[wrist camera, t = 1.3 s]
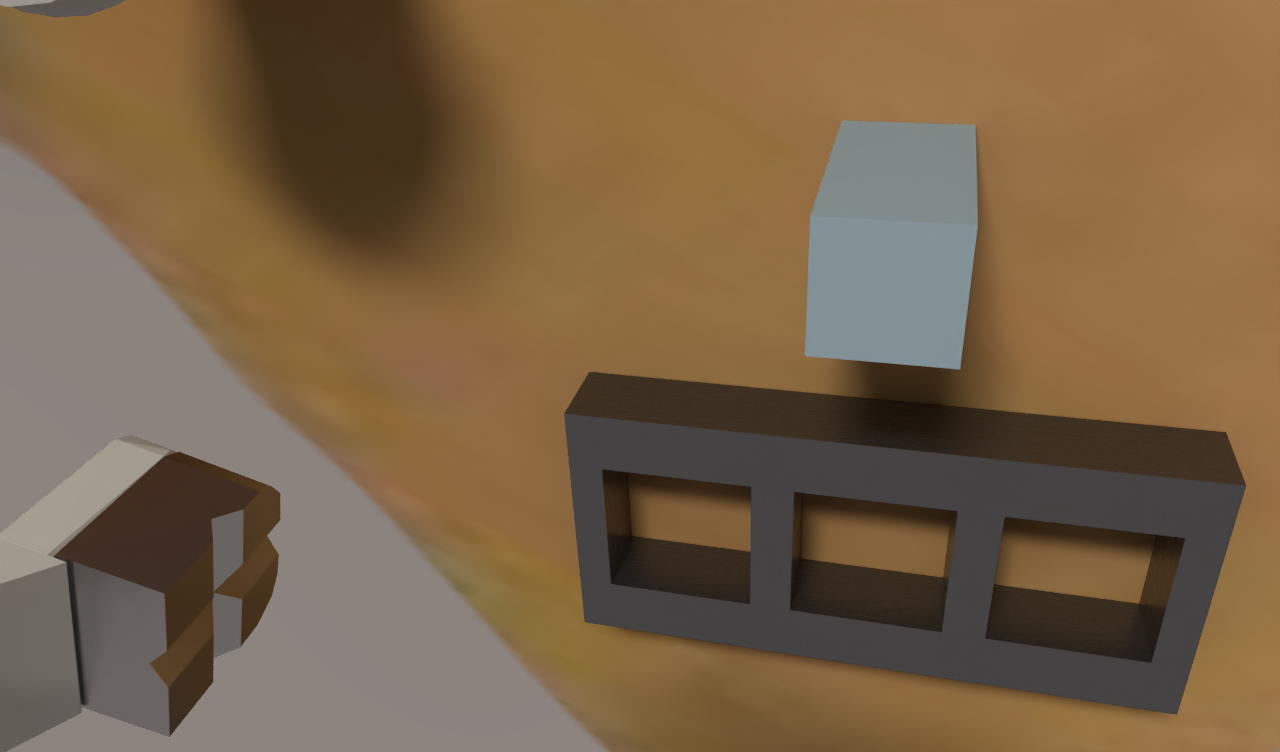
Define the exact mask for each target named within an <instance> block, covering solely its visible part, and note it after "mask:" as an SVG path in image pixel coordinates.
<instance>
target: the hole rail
mask: <svg viewBox="0 0 1280 752" xmlns="http://www.w3.org/2000/svg"><path fill="white" fill-rule="evenodd" d="M564 415H565V426H566V436H567V446H568V456H569V466H570V477H571V487H572V497H573V507H574V517H575V528H576V538H577V548H578V558H579V568H580V579H581V589H582V599H583V609H584V619H585V622H587V623H594V624H600V625H606V626H613V627H619V628H626V629H632V630H638V631H645V632H651V633H658V634H664V635H670V636H677V637H683V638H690V639H696V640H702V641H709V642H715V643H722V644H728V645H735V646H741V647H747V648H754V649H760V650H767V651H773V652H779V653H786V654H792V655H799V656H805V657H811V658H818V659H824V660H831V661H837V662H843V663H850V664H856V665H863V666H869V667H875V668H882V669H888V670H895V671H901V672H908V673H914V674H920V675H927V676H933V677H940V678H946V679H952V680H959V681H965V682H972V683H978V684H984V685H991V686H997V687H1004V688H1010V689H1016V690H1023V691H1029V692H1036V693H1042V694H1048V695H1055V696H1061V697H1068V698H1074V699H1081V700H1087V701H1093V702H1100V703H1106V704H1113V705H1119V706H1125V707H1132V708H1138V709H1145V710H1151V711H1157V712H1164V713H1170V714H1177V713H1178V710H1179V706H1180V703H1181V700H1182V696H1183V693H1184V690H1185V686H1186V683H1187V680H1188V677H1189V673H1190V670H1191V667H1192V663H1193V660H1194V657H1195V653H1196V650H1197V647H1198V643H1199V640H1200V637H1201V633H1202V630H1203V627H1204V624H1205V620H1206V617H1207V614H1208V610H1209V607H1210V604H1211V600H1212V597H1213V594H1214V590H1215V587H1216V584H1217V580H1218V577H1219V574H1220V570H1221V567H1222V564H1223V561H1224V557H1225V554H1226V551H1227V547H1228V544H1229V541H1230V537H1231V534H1232V531H1233V527H1234V524H1235V521H1236V517H1237V514H1238V511H1239V508H1240V504H1241V501H1242V498H1243V494H1244V491H1245V488H1246V484H1245V482H1244V479H1243V476H1242V474H1241V471H1240V468H1239V466H1238V463H1237V460H1236V458H1235V455H1234V452H1233V450H1232V447H1231V444H1230V442H1229V439H1228V436H1227V434H1226V432H1216V431H1205V430H1195V429H1184V428H1173V427H1163V426H1152V425H1142V424H1131V423H1121V422H1110V421H1100V420H1089V419H1079V418H1068V417H1057V416H1047V415H1036V414H1026V413H1015V412H1005V411H994V410H984V409H973V408H962V407H952V406H941V405H931V404H920V403H910V402H899V401H889V400H878V399H868V398H857V397H846V396H836V395H825V394H815V393H804V392H794V391H783V390H773V389H762V388H751V387H741V386H730V385H720V384H709V383H699V382H688V381H678V380H667V379H657V378H646V377H635V376H625V375H614V374H604V373H593V372H589V373H588V375H587V377H586V378H585V380H584V382H583V383H582V385H581V387H580V388H579V390H578V392H577V393H576V395H575V397H574V398H573V400H572V402H571V403H570V405H569V407H568V408H567V410H566V412H565V413H564ZM627 472H630V473H638V474H647V475H655V476H664V477H672V478H681V479H689V480H697V481H706V482H714V483H723V484H731V485H740V486H748V487H751V552H746V551H738V550H731V549H723V548H716V547H708V546H701V545H693V544H686V543H678V542H671V541H663V540H656V539H648V538H641V537H633V536H631V525H630V509H629V494H628V478H627ZM803 493H807V494H816V495H824V496H833V497H841V498H850V499H858V500H867V501H875V502H884V503H892V504H901V505H909V506H917V507H926V508H934V509H943V510H951V511H952V515H951V522H950V530H949V538H948V545H947V553H946V561H945V569H944V576H943V578H940V577H933V576H925V575H918V574H910V573H903V572H895V571H888V570H880V569H873V568H866V567H858V566H851V565H843V564H836V563H828V562H821V561H813V560H806V559H800V556H801V530H802V505H803ZM1005 517H1011V518H1019V519H1028V520H1036V521H1044V522H1053V523H1061V524H1070V525H1078V526H1087V527H1095V528H1104V529H1112V530H1121V531H1129V532H1138V533H1146V534H1154V535H1157V538H1156V542H1155V546H1154V550H1153V554H1152V558H1151V561H1150V565H1149V569H1148V573H1147V577H1146V581H1145V585H1144V589H1143V593H1142V596H1141V600H1140V604H1135V603H1128V602H1120V601H1113V600H1105V599H1098V598H1090V597H1083V596H1075V595H1068V594H1060V593H1053V592H1045V591H1038V590H1030V589H1023V588H1015V587H1008V586H1000V585H994V580H995V574H996V568H997V562H998V556H999V550H1000V543H1001V537H1002V531H1003V525H1004V519H1005Z"/></svg>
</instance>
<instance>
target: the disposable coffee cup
mask: <svg viewBox="0 0 1280 752" xmlns="http://www.w3.org/2000/svg"><path fill="white" fill-rule="evenodd" d="M123 1H124V0H0V5H2V6H6V7H13V8H15V9H18V10H20V11H23V12H29V13H35V14H40V15H46V16H52V17H67V16H87V15H90V14H93V13H96V12H98V11H101V10H104V9H107V8H110V7H112V6H115V5H117V4H119V3H121V2H123Z"/></svg>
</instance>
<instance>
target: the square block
mask: <svg viewBox="0 0 1280 752" xmlns="http://www.w3.org/2000/svg"><path fill="white" fill-rule="evenodd" d="M977 229H978V205H977V160H976V125H965V124H934V123H902V122H870V121H842V122H841V125H840V128H839V131H838V134H837V137H836V140H835V143H834V146H833V149H832V152H831V155H830V158H829V161H828V164H827V167H826V170H825V173H824V176H823V179H822V182H821V185H820V188H819V191H818V194H817V197H816V200H815V203H814V206H813V209H812V212H811V215H810V237H809V264H808V290H807V317H806V344H805V356H810V357H822V358H833V359H845V360H856V361H868V362H879V363H891V364H903V365H914V366H926V367H937V368H949V369H960V366H961V358H962V350H963V342H964V334H965V326H966V318H967V309H968V301H969V293H970V285H971V277H972V269H973V261H974V253H975V245H976V237H977Z"/></svg>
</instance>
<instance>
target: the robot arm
mask: <svg viewBox="0 0 1280 752" xmlns="http://www.w3.org/2000/svg"><path fill="white" fill-rule="evenodd" d="M279 521H280V493H279V492H278V491H277V490H275V489H274V488H273V487H272V486H269V485H266V484H264V483H261V482H258V481H256V480H253V479H250V478H248V477H245V476H242V475H239V474H237V473H234V472H231V471H229V470H226V469H223V468H221V467H218V466H216V465H213V464H210V463H207V462H205V461H202V460H200V459H197V458H194V457H192V456H189V455H186V454H184V453H181V452H175V451H172V450H170V449H167V448H164V447H162V446H159V445H156V444H154V443H151V442H148V441H146V440H143V439H140V438H138V437H135V436H133V435H129V436H126V437H122V438H119V439H115V440H114V441H112V442H111V443H109V444H108V445H107V446H106V447H104V448H103V449H102V450H101V451H99V452H98V453H97V454H96V455H95V456H93V457H92V458H91V459H90V460H89V461H87V462H86V463H85V464H84V465H83V466H81V467H80V468H79V469H78V470H76V471H75V472H74V473H73V474H71V475H70V476H69V477H68V478H66V479H65V480H64V481H63V482H62V483H60V484H59V485H58V486H57V487H55V488H54V489H53V490H52V491H51V492H49V493H48V494H47V495H46V496H44V497H43V498H42V499H41V500H39V501H38V502H37V503H36V504H35V505H33V506H32V507H31V508H30V509H28V510H27V511H26V512H25V513H24V514H23V515H21V516H20V517H19V518H17V519H16V520H15V521H14V522H13V523H11V524H10V525H9V526H8V527H6V528H5V529H4V530H3V531H2V532H0V752H6V751H8V750H10V749H12V748H14V747H16V746H18V745H20V744H21V743H24V742H25V741H27V740H29V739H31V738H33V737H35V736H37V735H39V734H41V733H43V732H45V731H47V730H49V729H51V728H53V727H55V726H57V725H59V724H61V723H62V722H64V721H66V720H68V719H70V718H72V717H74V716H76V715H78V714H80V713H81V711H82V708H81V707H83V708H87V709H90V710H92V711H95V712H98V713H101V714H104V715H107V716H110V717H113V718H116V719H119V720H122V721H125V722H128V723H131V724H134V725H137V726H139V727H142V728H145V729H148V730H151V731H155V732H157V733H160V734H163V735H166V736H169V737H170V735H171V734H172V733H173V732H174V731H175V729H176V728H177V727H178V726H179V724H180V723H181V722H182V720H183V719H184V718H185V717H186V716H187V714H188V713H189V712H190V710H191V709H192V708H193V707H194V705H195V704H196V703H197V702H198V700H199V699H200V698H201V697H202V695H203V694H204V693H205V692H206V690H207V689H208V688H209V686H210V685H211V684H212V683H213V658H214V657H217V656H219V655H222V654H225V653H227V652H229V651H232V650H234V649H237V648H239V647H241V646H242V644H243V643H244V642H245V640H246V639H247V638H248V637H249V635H250V634H251V633H252V631H253V630H254V629H255V627H256V626H257V624H258V623H259V621H260V619H261V617H262V615H263V613H264V611H265V609H266V606H267V605H268V602H269V600H270V598H271V596H272V593H273V589H274V585H275V581H276V577H277V572H278V557H279V555H278V553H277V551H276V549H275V548H274V546H273V545H272V543H271V541H270V540H269V538H268V537H267V535H268V534H269V532H270V531H271V530H272V529H273V528H274V527H275V525H276V524H277V523H278V522H279Z"/></svg>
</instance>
